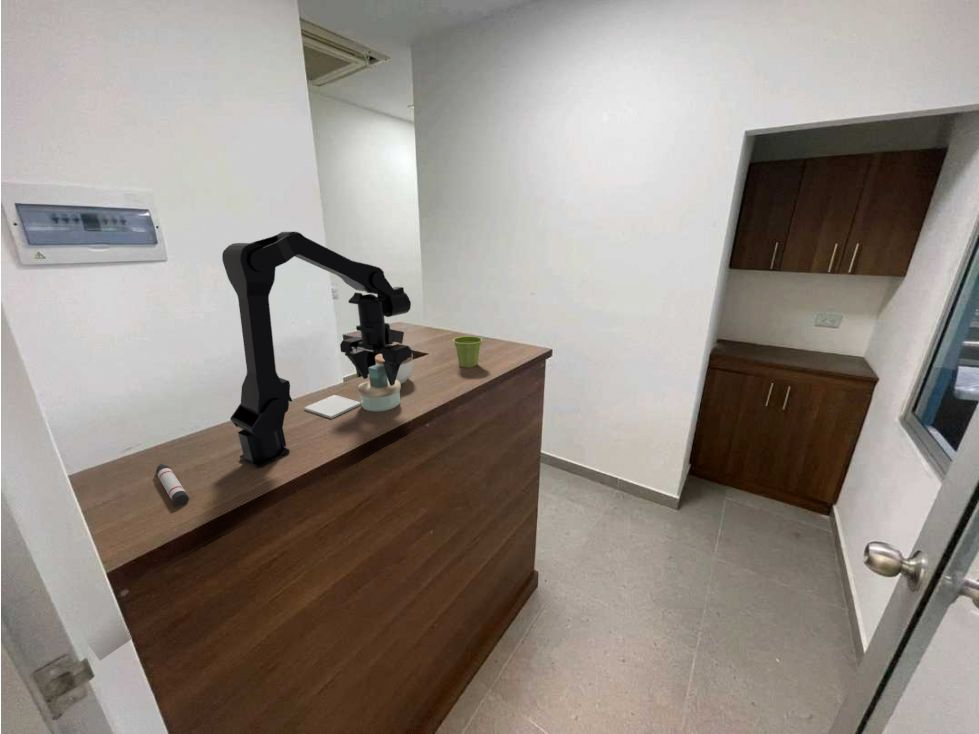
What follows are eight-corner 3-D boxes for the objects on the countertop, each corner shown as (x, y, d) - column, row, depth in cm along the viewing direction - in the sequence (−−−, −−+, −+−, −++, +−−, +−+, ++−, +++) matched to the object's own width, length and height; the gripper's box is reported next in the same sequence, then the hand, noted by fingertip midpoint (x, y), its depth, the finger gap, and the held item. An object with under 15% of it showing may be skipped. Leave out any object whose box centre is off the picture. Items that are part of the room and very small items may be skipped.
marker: (190, 502, 62) (187, 492, 62) (175, 508, 61) (172, 498, 60) (168, 467, 72) (164, 458, 71) (154, 472, 70) (151, 462, 70)
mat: (331, 418, 90) (331, 416, 90) (304, 409, 94) (304, 407, 94) (361, 404, 97) (360, 402, 97) (334, 396, 102) (334, 394, 102)
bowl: (381, 414, 92) (379, 399, 90) (353, 406, 96) (351, 391, 95) (407, 400, 99) (406, 386, 98) (381, 393, 104) (379, 379, 102)
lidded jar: (405, 388, 107) (403, 357, 104) (370, 386, 109) (367, 354, 106) (420, 375, 117) (418, 346, 114) (387, 373, 119) (384, 344, 116)
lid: (379, 400, 90) (376, 377, 88) (348, 392, 94) (345, 369, 92) (409, 386, 98) (407, 364, 96) (379, 379, 103) (377, 357, 101)
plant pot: (451, 362, 129) (450, 337, 126) (478, 359, 131) (477, 334, 128) (457, 371, 120) (456, 344, 117) (486, 368, 123) (485, 342, 120)
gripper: (424, 318, 92) (428, 378, 98) (369, 311, 101) (375, 366, 107) (392, 327, 83) (398, 393, 89) (334, 318, 92) (343, 379, 97)
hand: (378, 381), depth 96 cm, fingers open, 9 cm apart
